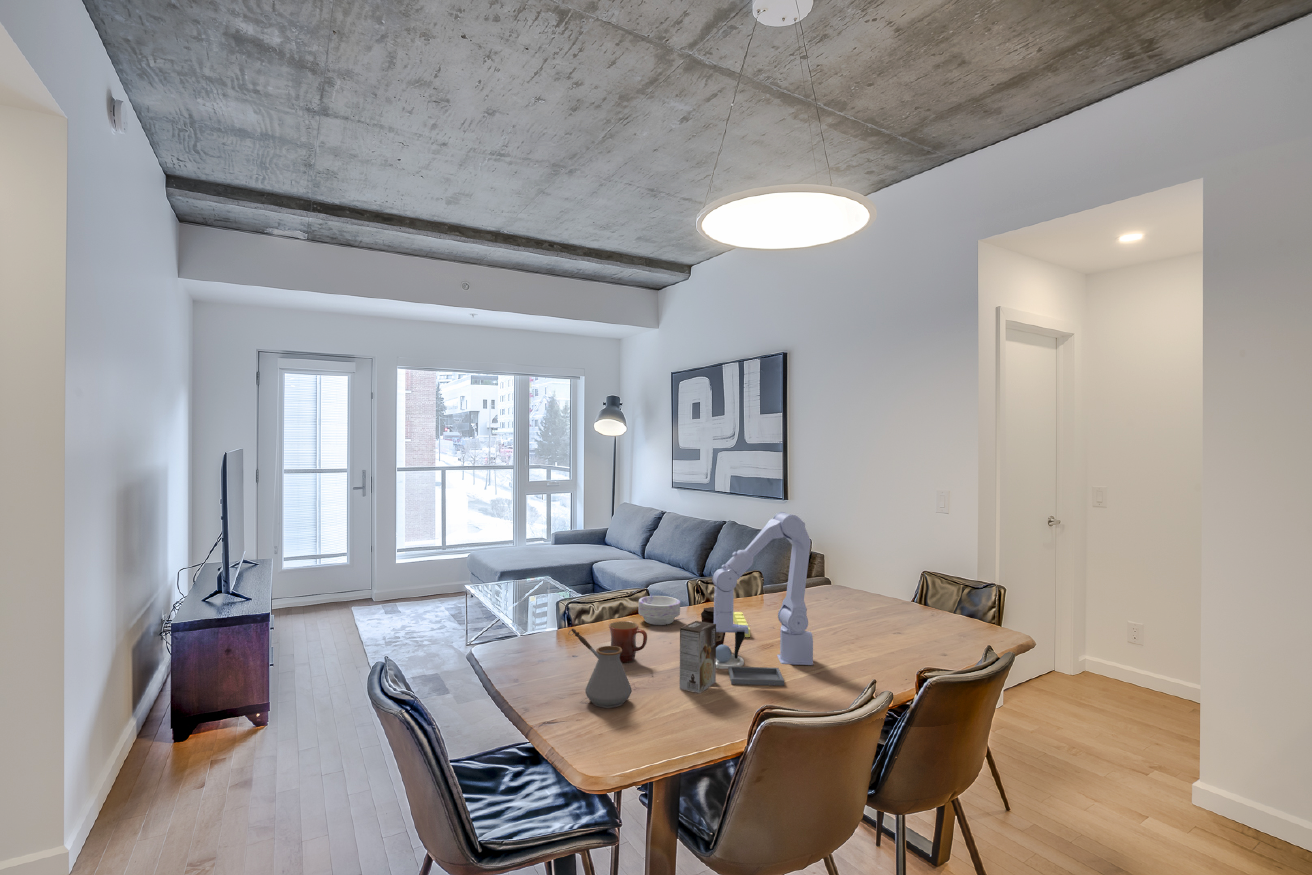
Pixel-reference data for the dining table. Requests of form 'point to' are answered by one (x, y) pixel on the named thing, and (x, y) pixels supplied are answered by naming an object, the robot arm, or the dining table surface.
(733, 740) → the dining table surface
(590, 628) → the dining table surface
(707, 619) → the coffee cup
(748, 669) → the tray
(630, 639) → the mug
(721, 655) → the ball
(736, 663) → the saucer
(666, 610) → the paper bowls
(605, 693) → the coffee pot
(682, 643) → the coffee box
